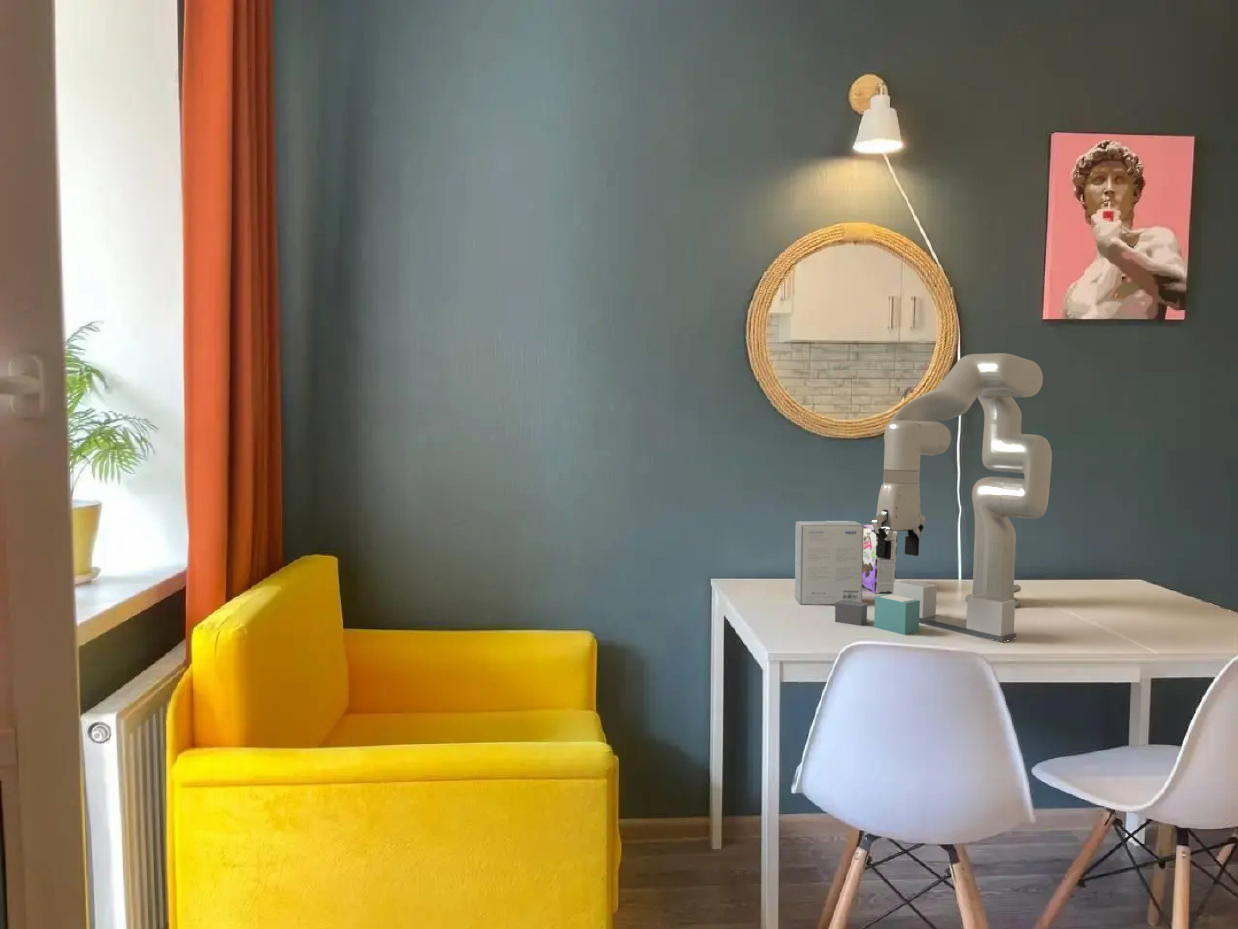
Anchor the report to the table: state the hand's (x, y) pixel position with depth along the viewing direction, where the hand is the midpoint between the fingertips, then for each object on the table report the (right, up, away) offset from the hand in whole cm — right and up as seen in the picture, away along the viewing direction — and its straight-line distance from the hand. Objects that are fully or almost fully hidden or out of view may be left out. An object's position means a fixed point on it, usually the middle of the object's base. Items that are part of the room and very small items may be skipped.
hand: (897, 556), depth 199 cm
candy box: (+8, -13, +46) cm, 48 cm away
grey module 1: (+7, -14, +12) cm, 20 cm away
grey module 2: (+19, -16, -3) cm, 25 cm away
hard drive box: (-9, -14, +28) cm, 33 cm away
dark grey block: (-8, -16, +8) cm, 19 cm away
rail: (+13, -16, +4) cm, 21 cm away
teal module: (0, -16, +1) cm, 16 cm away
